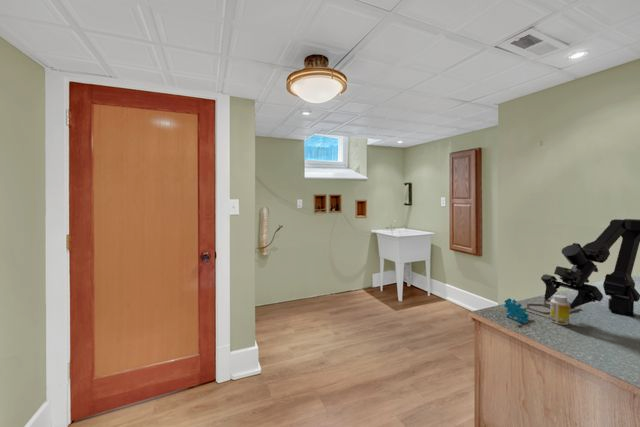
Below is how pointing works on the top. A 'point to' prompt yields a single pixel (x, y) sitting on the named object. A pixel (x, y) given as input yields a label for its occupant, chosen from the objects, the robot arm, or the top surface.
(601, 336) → the top surface
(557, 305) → the supplement bottle
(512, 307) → the gear
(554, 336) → the top surface
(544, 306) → the flange plate
